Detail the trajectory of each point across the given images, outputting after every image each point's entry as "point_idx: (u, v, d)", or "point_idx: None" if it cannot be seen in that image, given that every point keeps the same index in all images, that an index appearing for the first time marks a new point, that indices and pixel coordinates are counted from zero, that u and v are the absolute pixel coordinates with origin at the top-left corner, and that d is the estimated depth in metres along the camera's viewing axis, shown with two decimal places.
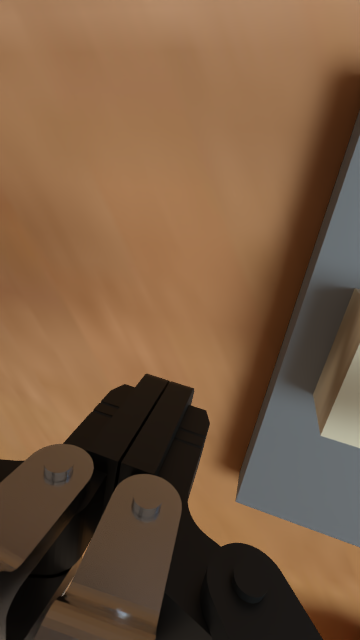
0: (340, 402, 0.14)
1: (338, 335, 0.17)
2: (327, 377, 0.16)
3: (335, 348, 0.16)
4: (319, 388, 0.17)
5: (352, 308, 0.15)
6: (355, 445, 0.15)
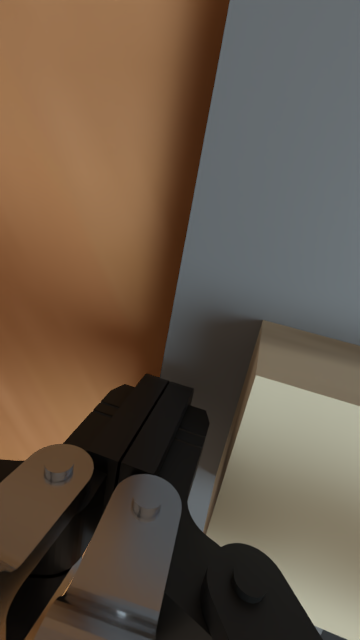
0: (218, 526, 0.08)
1: (241, 393, 0.10)
2: (222, 462, 0.10)
3: (235, 415, 0.10)
4: (217, 473, 0.11)
5: (254, 354, 0.09)
6: None
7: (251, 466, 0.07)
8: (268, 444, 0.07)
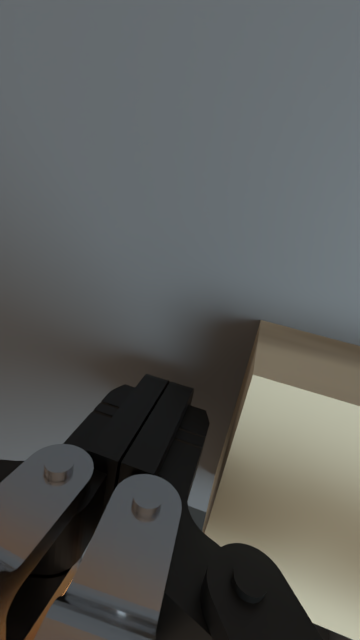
0: (216, 525, 0.08)
1: (239, 393, 0.10)
2: (221, 461, 0.10)
3: (233, 414, 0.10)
4: (216, 472, 0.11)
5: (252, 354, 0.09)
6: None
7: (249, 464, 0.07)
8: (266, 443, 0.07)
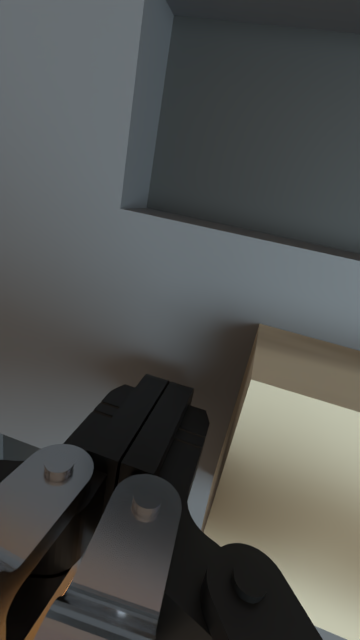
0: (214, 526, 0.08)
1: (238, 396, 0.11)
2: (219, 463, 0.10)
3: (232, 417, 0.10)
4: (215, 473, 0.11)
5: (250, 358, 0.09)
6: None
7: (247, 468, 0.07)
8: (264, 447, 0.07)
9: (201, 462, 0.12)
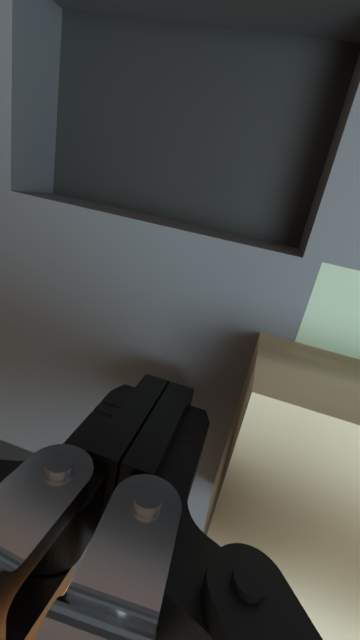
0: (215, 538, 0.08)
1: (238, 404, 0.10)
2: (219, 472, 0.10)
3: (232, 425, 0.10)
4: (215, 482, 0.11)
5: (251, 367, 0.09)
6: None
7: (248, 480, 0.07)
8: (264, 459, 0.07)
9: None
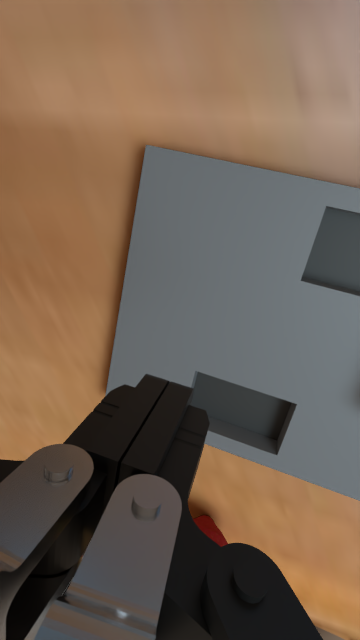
0: None
1: None
2: None
3: None
4: None
5: None
6: None
7: None
8: None
9: (319, 387, 0.28)
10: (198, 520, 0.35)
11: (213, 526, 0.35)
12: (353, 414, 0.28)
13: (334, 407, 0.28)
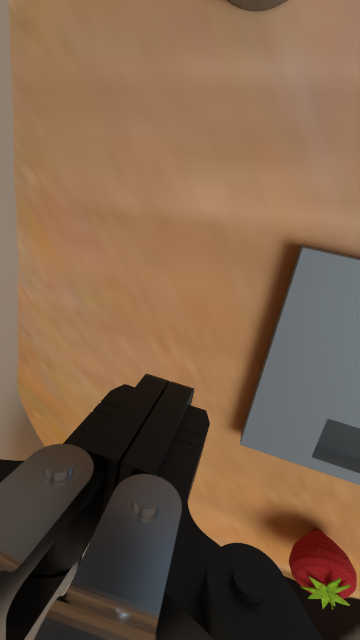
0: None
1: None
2: None
3: None
4: None
5: None
6: None
7: None
8: None
9: None
10: (317, 535, 0.42)
11: (330, 539, 0.42)
12: None
13: None
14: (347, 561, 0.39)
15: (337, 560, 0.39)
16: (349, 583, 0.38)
